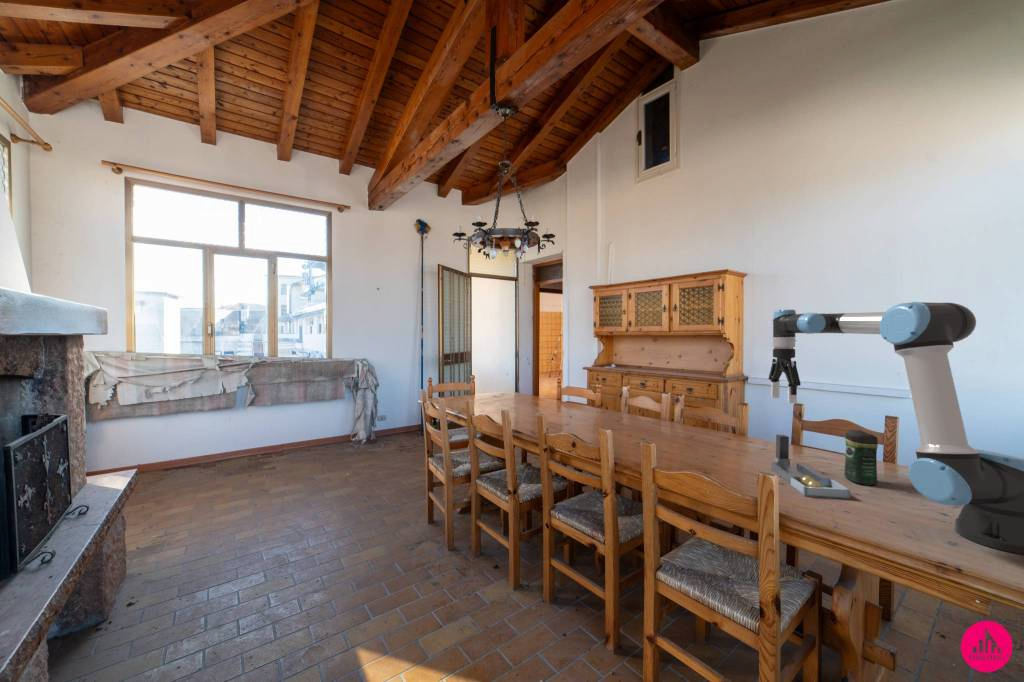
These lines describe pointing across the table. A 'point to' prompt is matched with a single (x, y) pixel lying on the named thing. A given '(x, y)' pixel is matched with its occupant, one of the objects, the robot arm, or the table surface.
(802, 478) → the brass round knob
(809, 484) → the gold dome knob
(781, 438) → the stepped gray block
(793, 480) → the tray
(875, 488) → the table surface
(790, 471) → the slot board
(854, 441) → the coffee jar
